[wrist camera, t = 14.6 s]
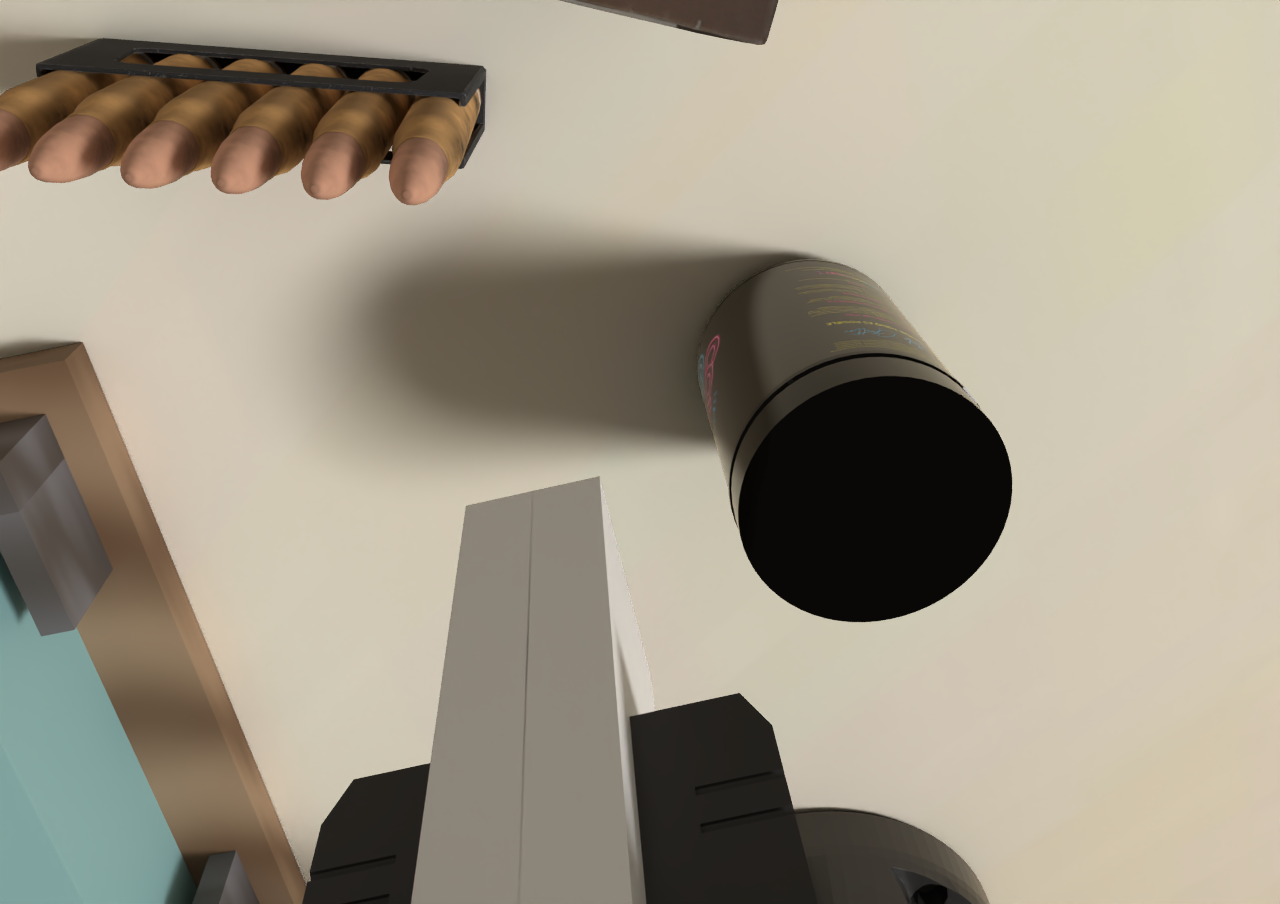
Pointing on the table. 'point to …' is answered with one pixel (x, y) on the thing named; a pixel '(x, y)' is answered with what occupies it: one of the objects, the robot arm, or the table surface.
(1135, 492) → the table surface
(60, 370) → the frame
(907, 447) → the supplement container
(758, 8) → the coffee box
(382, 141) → the ammunition clip
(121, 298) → the table surface
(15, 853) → the slat
